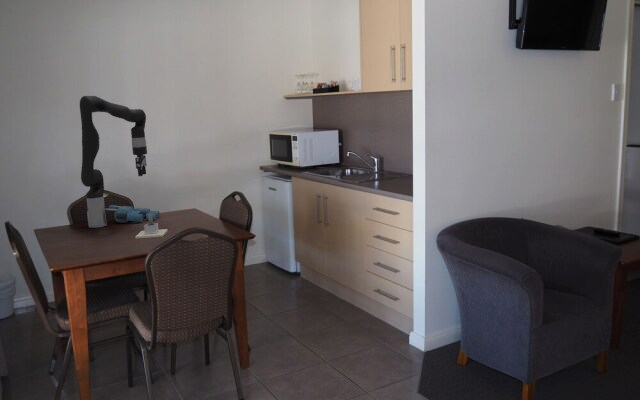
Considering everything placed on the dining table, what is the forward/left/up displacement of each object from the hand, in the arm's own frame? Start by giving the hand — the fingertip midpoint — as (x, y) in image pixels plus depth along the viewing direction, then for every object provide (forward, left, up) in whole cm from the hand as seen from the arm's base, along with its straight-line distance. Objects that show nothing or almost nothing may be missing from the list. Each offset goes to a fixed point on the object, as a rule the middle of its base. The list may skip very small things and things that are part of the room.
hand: (142, 175), depth 313 cm
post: (+6, -18, -30) cm, 36 cm away
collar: (+6, -18, -29) cm, 35 cm away
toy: (-14, +28, -30) cm, 44 cm away
